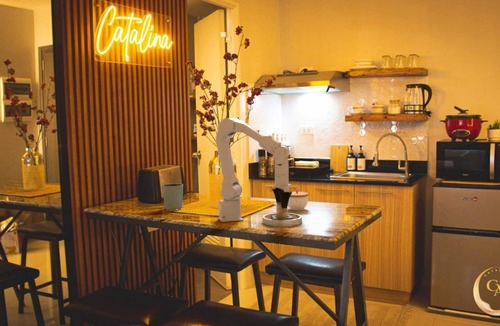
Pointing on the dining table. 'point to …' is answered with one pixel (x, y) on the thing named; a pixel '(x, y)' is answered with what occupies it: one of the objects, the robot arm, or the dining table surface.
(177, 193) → the grey green cup
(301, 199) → the lidded jar
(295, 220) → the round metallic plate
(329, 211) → the dining table surface
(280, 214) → the wood wick
